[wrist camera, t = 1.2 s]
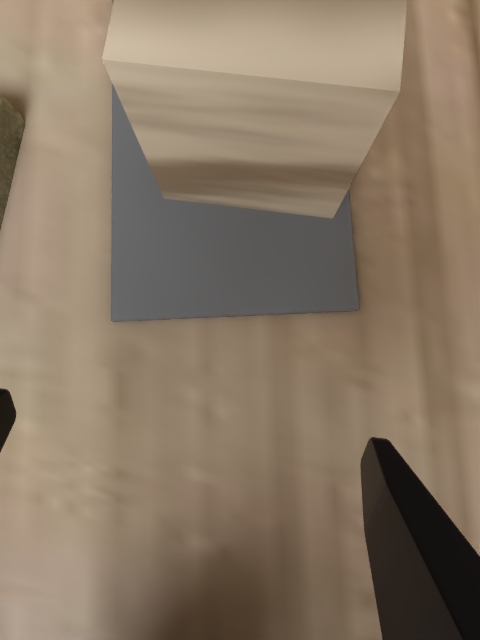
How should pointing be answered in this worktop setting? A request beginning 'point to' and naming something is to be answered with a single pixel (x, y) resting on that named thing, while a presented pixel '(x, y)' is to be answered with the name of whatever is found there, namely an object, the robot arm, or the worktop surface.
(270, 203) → the maple block
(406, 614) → the robot arm
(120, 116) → the rubber mat
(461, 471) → the worktop surface
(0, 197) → the decorative tile
